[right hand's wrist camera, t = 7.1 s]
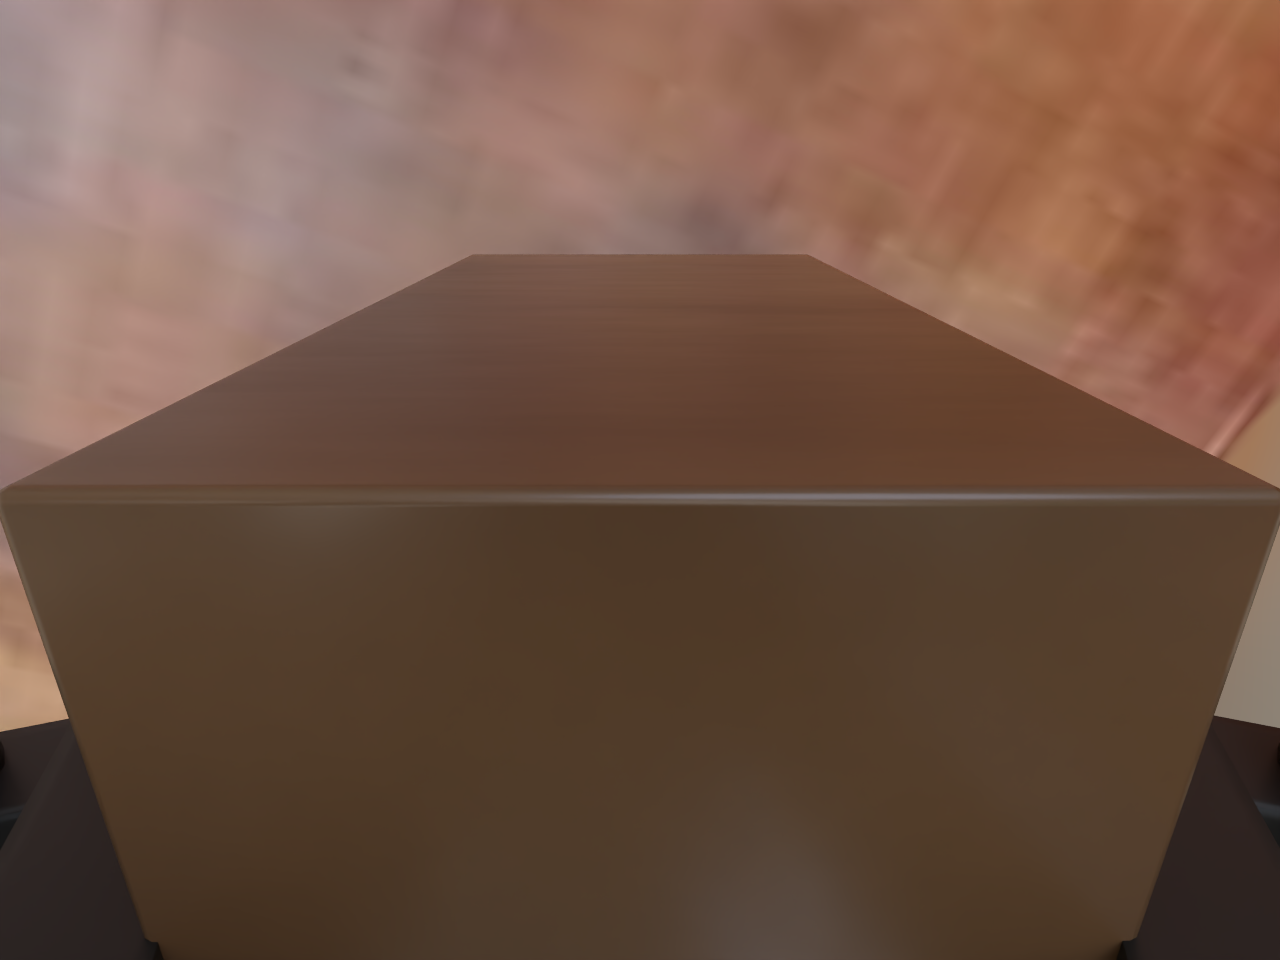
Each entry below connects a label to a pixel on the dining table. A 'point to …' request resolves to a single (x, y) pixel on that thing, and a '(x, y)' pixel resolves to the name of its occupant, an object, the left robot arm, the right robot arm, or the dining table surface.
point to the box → (640, 630)
